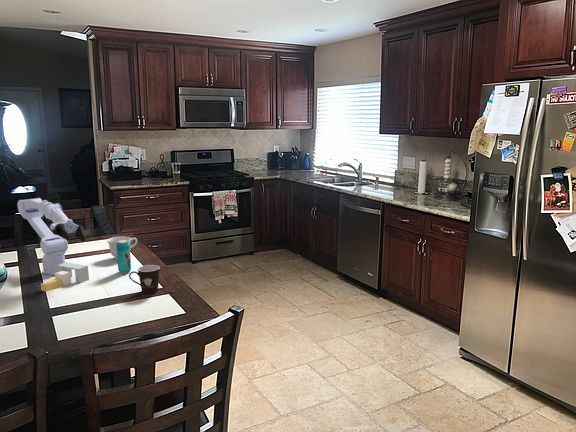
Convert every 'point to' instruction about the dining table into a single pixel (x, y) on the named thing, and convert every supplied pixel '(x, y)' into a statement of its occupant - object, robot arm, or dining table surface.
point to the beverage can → (123, 256)
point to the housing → (80, 271)
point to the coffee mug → (148, 278)
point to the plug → (57, 281)
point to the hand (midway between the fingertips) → (76, 238)
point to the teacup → (113, 243)
